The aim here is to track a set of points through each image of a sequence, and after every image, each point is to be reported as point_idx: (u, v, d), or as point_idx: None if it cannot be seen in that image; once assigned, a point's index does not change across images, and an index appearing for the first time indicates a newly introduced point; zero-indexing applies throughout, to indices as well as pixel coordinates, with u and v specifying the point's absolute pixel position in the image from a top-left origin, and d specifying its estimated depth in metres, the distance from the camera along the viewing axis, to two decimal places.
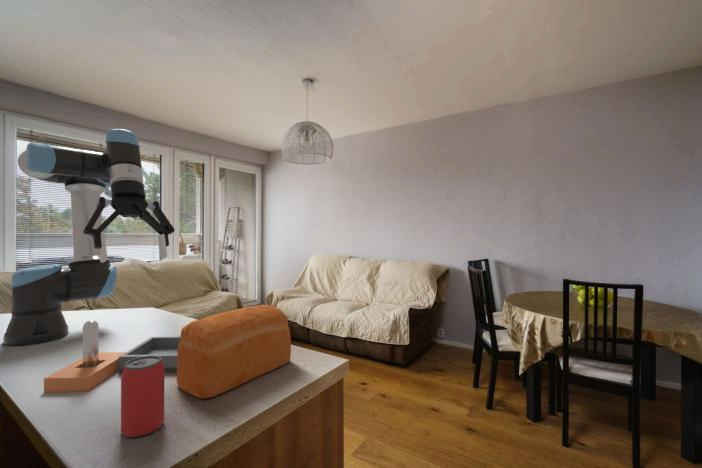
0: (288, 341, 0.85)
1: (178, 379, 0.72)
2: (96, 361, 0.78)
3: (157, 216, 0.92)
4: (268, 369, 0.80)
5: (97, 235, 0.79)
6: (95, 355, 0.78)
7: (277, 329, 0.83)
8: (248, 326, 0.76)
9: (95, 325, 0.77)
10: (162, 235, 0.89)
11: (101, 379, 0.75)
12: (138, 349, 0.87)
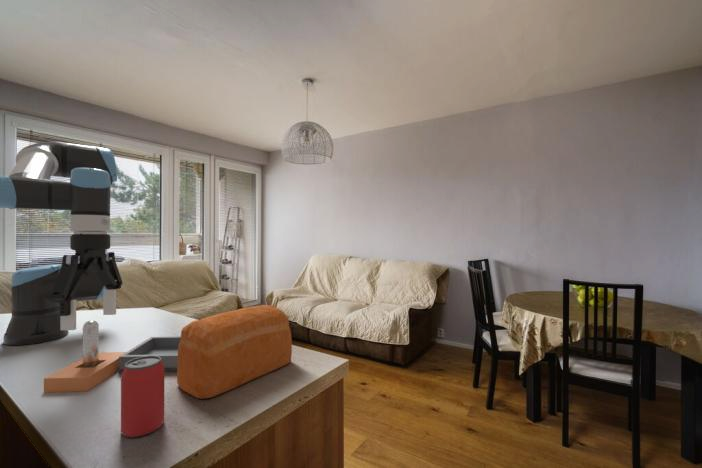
0: (289, 342, 0.85)
1: (178, 379, 0.73)
2: (96, 361, 0.78)
3: None
4: (268, 370, 0.80)
5: (68, 301, 0.70)
6: (95, 355, 0.78)
7: (278, 329, 0.82)
8: (248, 326, 0.76)
9: (95, 325, 0.77)
10: (114, 291, 0.84)
11: (101, 379, 0.75)
12: (138, 349, 0.87)
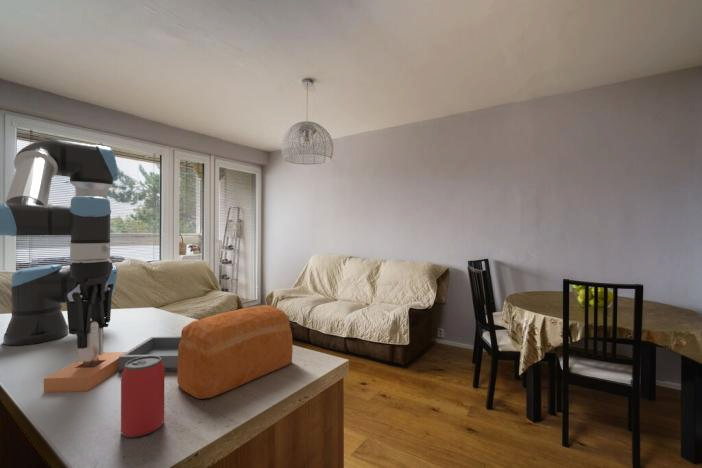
0: (289, 342, 0.85)
1: (178, 379, 0.73)
2: (96, 361, 0.78)
3: None
4: (268, 370, 0.79)
5: (86, 334, 0.76)
6: (95, 355, 0.78)
7: (278, 330, 0.82)
8: (247, 326, 0.76)
9: (95, 325, 0.78)
10: (101, 330, 0.80)
11: (101, 379, 0.75)
12: (138, 349, 0.87)
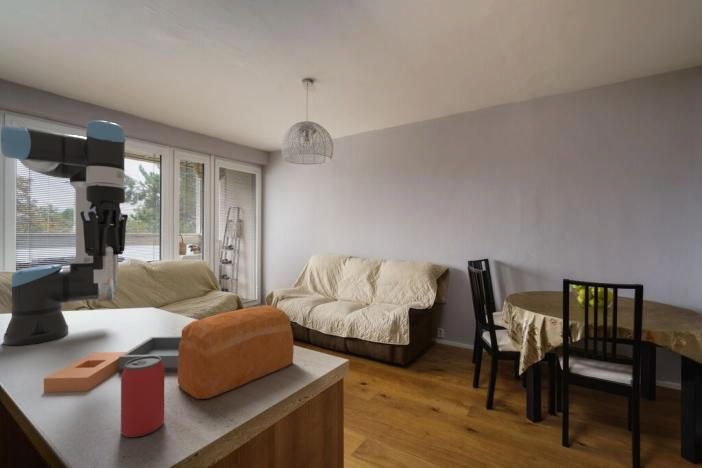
0: (290, 343, 0.84)
1: (179, 378, 0.73)
2: (111, 285, 0.79)
3: None
4: (269, 371, 0.79)
5: (102, 256, 0.77)
6: (110, 279, 0.79)
7: (279, 330, 0.82)
8: (247, 327, 0.75)
9: (110, 249, 0.79)
10: (115, 256, 0.81)
11: (101, 379, 0.75)
12: (138, 349, 0.87)
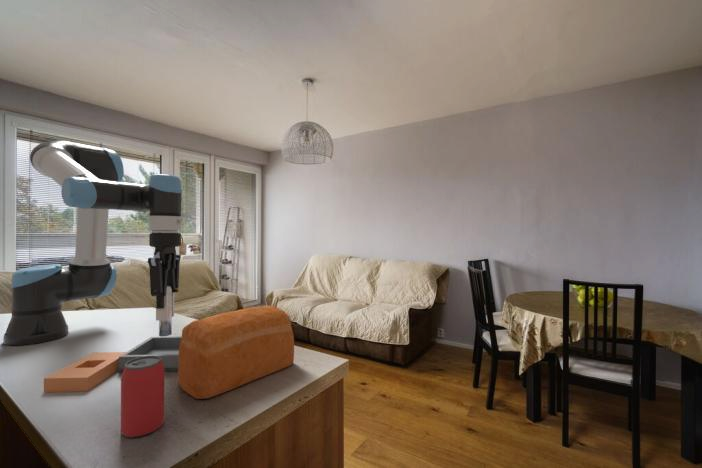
0: (291, 343, 0.84)
1: (179, 378, 0.73)
2: (170, 321, 0.88)
3: None
4: (269, 371, 0.79)
5: (163, 296, 0.86)
6: (169, 316, 0.87)
7: (279, 331, 0.81)
8: (247, 327, 0.75)
9: (169, 289, 0.87)
10: (173, 294, 0.90)
11: (101, 379, 0.75)
12: (138, 349, 0.87)
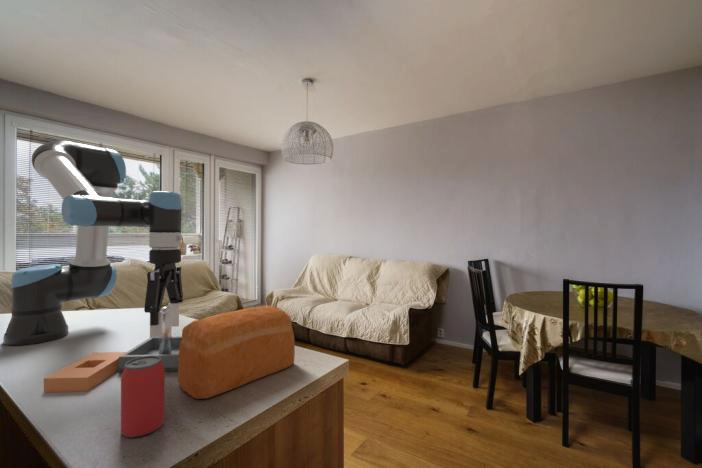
0: (291, 344, 0.84)
1: (179, 378, 0.73)
2: (170, 342, 0.88)
3: None
4: (269, 372, 0.79)
5: (157, 313, 0.82)
6: (169, 337, 0.88)
7: (279, 331, 0.81)
8: (247, 327, 0.75)
9: (169, 311, 0.88)
10: (177, 304, 0.93)
11: (101, 379, 0.75)
12: (138, 349, 0.87)
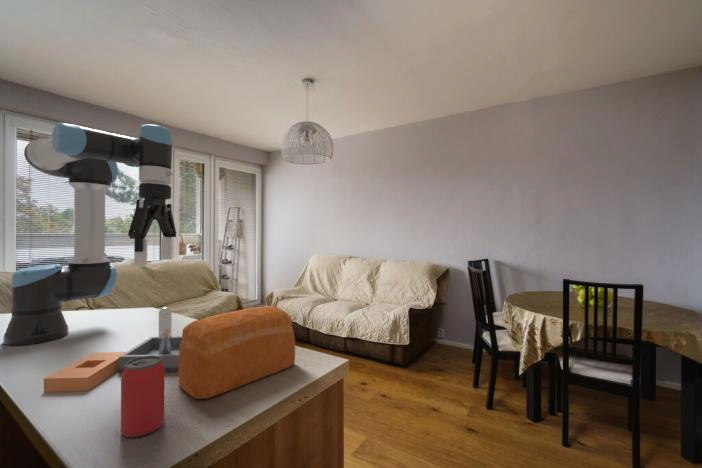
0: (292, 344, 0.83)
1: (179, 378, 0.73)
2: (170, 343, 0.88)
3: None
4: (269, 372, 0.78)
5: (141, 239, 0.80)
6: (169, 337, 0.88)
7: (279, 331, 0.81)
8: (247, 327, 0.75)
9: (169, 311, 0.87)
10: (171, 238, 0.95)
11: (101, 379, 0.75)
12: (138, 349, 0.87)
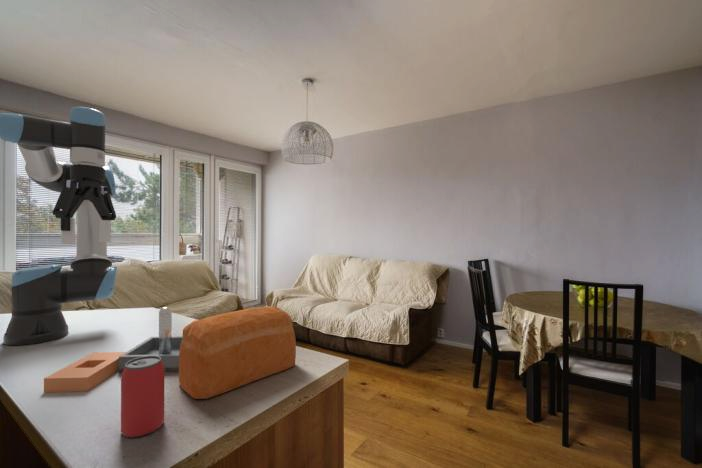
0: (292, 344, 0.83)
1: (179, 377, 0.73)
2: (170, 343, 0.88)
3: (103, 200, 0.95)
4: (269, 373, 0.78)
5: (68, 219, 0.81)
6: (169, 337, 0.88)
7: (280, 332, 0.80)
8: (247, 328, 0.75)
9: (169, 311, 0.87)
10: (109, 221, 0.96)
11: (101, 379, 0.75)
12: (138, 349, 0.87)
